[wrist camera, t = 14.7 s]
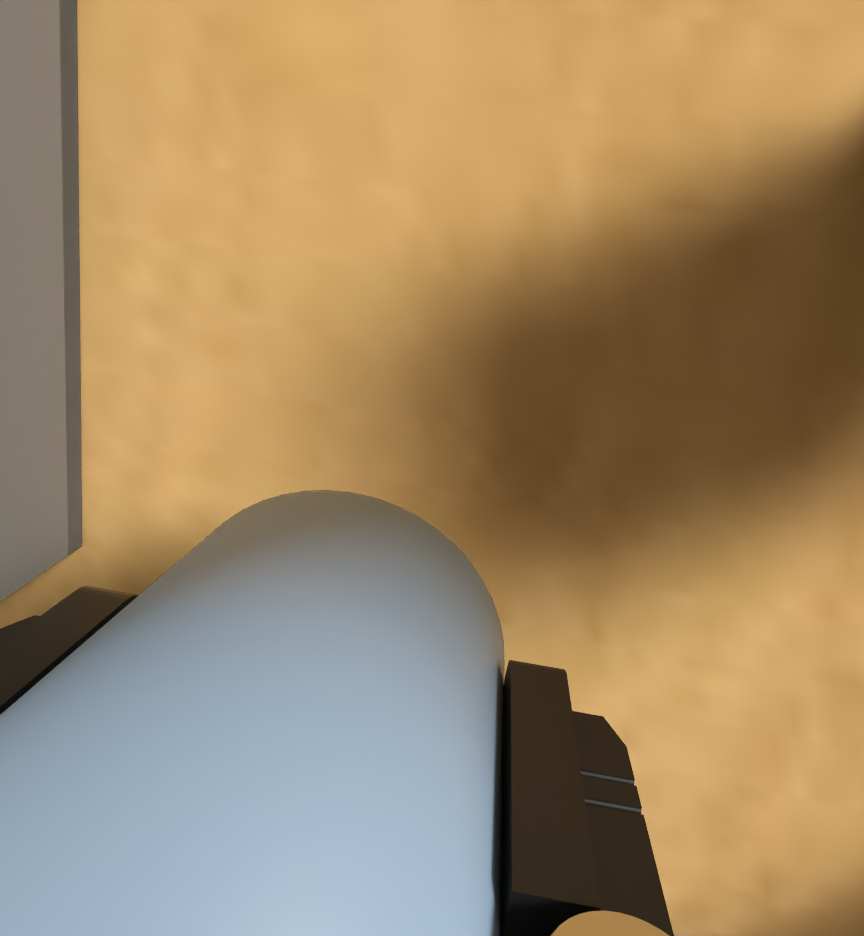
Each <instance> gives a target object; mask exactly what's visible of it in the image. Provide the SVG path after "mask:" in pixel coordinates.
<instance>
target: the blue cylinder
mask: <svg viewBox="0 0 864 936" xmlns="http://www.w3.org/2000/svg"><path fill="white" fill-rule="evenodd" d="M503 687H504V640H503V635H502V630H501V624H500V620H499V617H498V614H497V611H496V608H495V605H494V602H493V599H492V597H491V595H490V593H489V591H488V589H487V588H486V586H485V584H484V582H483V580H482V578H481V577H480V575H479V574H478V572H477V571H476V570H475V568H474V567H473V565H472V564H471V562H470V561H469V560H468V559H467V558H466V557H465V555H464V554H463V553H462V552H461V551H460V550H459V549H458V548H457V547H456V545H455V544H454V543H452V542H451V541H450V540H449V539H448V538H447V537H445V536H444V535H443V534H442V533H441V532H440V531H438V530H437V529H436V528H434V527H433V526H431V525H430V524H428V523H427V522H425V521H424V520H422V519H421V518H419V517H418V516H416V515H414V514H412V513H410V512H408V511H406V510H404V509H402V508H400V507H398V506H396V505H393V504H391V503H388V502H385V501H382V500H379V499H377V498H374V497H369V496H365V495H360V494H356V493H351V492H341V491H331V490H319V491H301V492H295V493H289V494H283V495H280V496H276V497H273V498H270V499H267V500H263V501H261V502H259V503H256V504H254V505H252V506H250V507H248V508H246V509H244V510H242V511H240V512H239V513H237V514H236V515H234V516H232V517H231V518H229V519H228V520H226V521H225V522H224V523H223V524H221V525H220V526H219V527H218V528H217V529H216V530H214V531H213V532H212V533H211V534H210V535H209V536H207V537H206V538H205V539H204V540H203V541H202V542H200V543H199V544H198V545H197V546H196V547H195V548H193V549H192V550H191V551H190V552H189V553H188V554H186V555H185V556H184V557H183V558H182V559H181V560H180V561H178V562H177V563H176V564H175V565H174V566H173V567H171V568H170V569H169V570H168V571H167V572H166V573H164V574H163V575H162V576H161V577H160V578H159V579H157V580H156V581H155V582H154V583H153V584H152V585H150V586H149V587H148V588H147V589H146V590H145V591H144V592H142V593H141V594H140V595H139V596H138V597H137V598H135V599H134V600H133V601H132V602H131V603H130V604H128V605H127V606H126V607H125V608H124V609H123V610H121V611H120V612H119V613H118V614H117V615H116V616H114V617H113V618H112V619H111V620H110V621H109V622H108V623H106V624H105V625H104V626H103V627H102V628H101V629H99V630H98V631H97V632H96V633H95V634H94V635H92V636H91V637H90V638H89V639H88V640H87V641H85V642H84V643H83V644H82V645H81V646H80V647H78V648H77V649H76V650H75V651H74V652H73V653H71V654H70V655H69V656H68V657H67V658H66V659H65V660H63V661H62V662H61V663H60V664H59V665H58V666H56V667H55V668H54V669H53V670H52V671H51V672H49V673H48V674H47V675H46V676H45V677H44V678H42V679H41V680H40V681H39V682H38V683H37V684H35V685H34V686H33V687H32V688H31V689H30V690H29V691H27V692H26V693H25V694H24V695H23V696H22V697H20V698H19V699H18V700H17V701H16V702H15V703H13V704H12V705H11V706H10V707H9V708H8V709H6V710H5V711H4V712H3V713H2V714H1V715H0V936H500V915H501V839H502V763H503Z"/></svg>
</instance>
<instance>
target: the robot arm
mask: <svg viewBox="0 0 864 936" xmlns="http://www.w3.org/2000/svg"><path fill="white" fill-rule="evenodd" d="M138 596H139V595H135V594H129V593H123V592H118V591H112V590H106V589H100V588H94V587H89V586H84V587H81V588H79V589H78V590H76V591H75V592H73V593H72V594H70V595H69V596H68V597H66V598H65V599H64V600H62V601H61V602H59V603H58V604H57V605H55V606H54V607H52V608H51V609H50V610H48V611H47V612H46V613H44V614H43V615H41V616H36V615H35V616H32V617H29V618H27V619H24V620H22V621H19V622H17V623H14V624H11V625H9V626H6V627H4V628H1V629H0V715H1V714H2V713H3V712H4V711H5V710H6V709H8V708H9V707H10V706H11V705H12V704H13V703H15V702H16V701H17V700H18V699H19V698H20V697H22V696H23V695H24V694H25V693H26V692H27V691H29V690H30V689H31V688H32V687H33V686H34V685H35V684H37V683H38V682H39V681H40V680H41V679H42V678H44V677H45V676H46V675H47V674H48V673H49V672H51V671H52V670H53V669H54V668H55V667H56V666H58V665H59V664H60V663H61V662H62V661H63V660H65V659H66V658H67V657H68V656H69V655H70V654H71V653H73V652H74V651H75V650H76V649H77V648H78V647H80V646H81V645H82V644H83V643H84V642H85V641H87V640H88V639H89V638H90V637H91V636H92V635H94V634H95V633H96V632H97V631H98V630H99V629H101V628H102V627H103V626H104V625H105V624H106V623H108V622H109V621H110V620H111V619H112V618H113V617H114V616H116V615H117V614H118V613H119V612H120V611H121V610H123V609H124V608H125V607H126V606H127V605H128V604H130V603H131V602H132V601H133V600H134V599H135V598H137V597H138ZM634 780H635V779H634V775H633V771H632V767H631V763H630V759H629V755H628V751H627V747H626V745H625V744H624V743H623V742H622V740H621V739H620V738H619V736H618V735H617V734H616V733H615V731H614V730H613V729H612V728H611V726H610V725H609V724H608V722H607V721H606V720H605V719H604V717H603V716H597V715H591V714H586V713H580V712H575V711H572V708H571V701H570V694H569V687H568V680H567V674H566V671H565V670H564V669H559V668H553V667H547V666H541V665H535V664H530V663H524V662H518V661H512V660H509V663H508V666H507V670H506V675H505V680H504V687H503V763H502V839H501V915H500V936H674V934H673V931H672V927H671V923H670V919H669V915H668V911H667V907H666V903H665V899H664V895H663V891H662V887H661V883H660V879H659V875H658V871H657V867H656V863H655V859H654V855H653V851H652V847H651V843H650V839H649V835H648V831H647V827H646V823H645V819H644V815H641V808H642V807H641V803H640V799H639V795H638V791H637V787H636V786H634Z"/></svg>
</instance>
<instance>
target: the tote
mask: <svg viewBox="0 0 864 936" xmlns="http://www.w3.org/2000/svg"><path fill="white" fill-rule="evenodd" d="M81 546H82V479H81V374H80V268H79V163H78V58H77V0H0V602H1V601H2V600H4V599H5V598H7V597H8V596H10V595H11V594H12V593H14V592H15V591H17V590H18V589H20V588H21V587H23V586H24V585H26V584H27V583H29V582H30V581H32V580H33V579H34V578H36V577H37V576H39V575H40V574H42V573H43V572H45V571H46V570H48V569H49V568H51V567H52V566H54V565H55V564H56V563H58V562H59V561H61V560H62V559H64V558H65V557H67V556H68V555H70V554H71V553H73V552H74V551H75V550H77V549H78V548H80V547H81Z"/></svg>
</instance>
